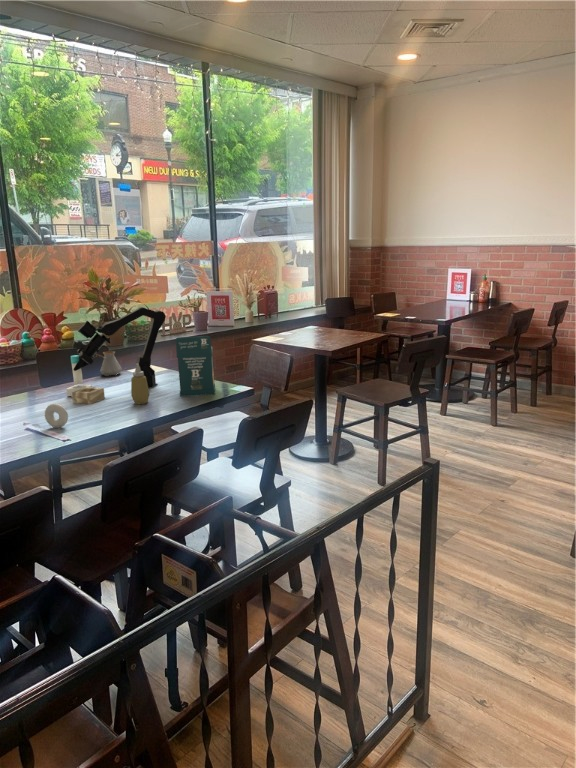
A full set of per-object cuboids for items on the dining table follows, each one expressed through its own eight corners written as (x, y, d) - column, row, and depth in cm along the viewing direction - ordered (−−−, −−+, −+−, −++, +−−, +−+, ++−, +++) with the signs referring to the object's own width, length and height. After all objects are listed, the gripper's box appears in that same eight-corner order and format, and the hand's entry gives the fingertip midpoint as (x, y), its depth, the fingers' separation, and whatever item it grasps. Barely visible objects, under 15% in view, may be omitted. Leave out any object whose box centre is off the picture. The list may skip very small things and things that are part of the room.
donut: (71, 426, 223) (68, 402, 221) (65, 429, 220) (62, 405, 217) (50, 425, 226) (46, 401, 223) (44, 428, 223) (40, 404, 220)
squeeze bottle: (153, 400, 258) (149, 362, 253) (144, 405, 250) (140, 366, 246) (137, 400, 260) (134, 362, 255) (128, 404, 252) (124, 365, 248)
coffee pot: (107, 372, 321) (104, 346, 317) (125, 372, 319) (123, 346, 315) (87, 381, 300) (84, 353, 297) (107, 381, 298) (104, 353, 295)
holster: (92, 393, 275) (91, 385, 274) (82, 397, 267) (81, 389, 266) (78, 392, 277) (77, 384, 276) (67, 396, 270) (66, 388, 269)
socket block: (104, 398, 265) (103, 387, 264) (91, 403, 256) (90, 393, 254) (86, 397, 268) (85, 386, 267) (73, 402, 259) (71, 392, 257)
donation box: (180, 396, 264) (175, 337, 257) (183, 388, 279) (178, 332, 272) (214, 394, 265) (210, 335, 258) (215, 386, 281) (211, 330, 274)
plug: (82, 381, 274) (79, 355, 270) (83, 382, 270) (80, 356, 267) (73, 382, 272) (70, 355, 269) (74, 384, 268) (70, 357, 265)
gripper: (79, 331, 275) (58, 356, 273) (82, 336, 258) (60, 362, 257) (98, 345, 280) (77, 369, 278) (102, 351, 263) (80, 377, 262)
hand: (73, 369), depth 269 cm, fingers closed on plug, 4 cm apart
